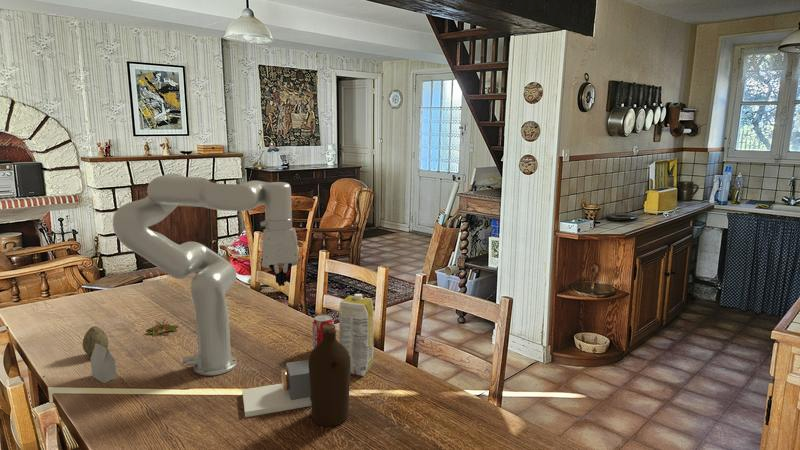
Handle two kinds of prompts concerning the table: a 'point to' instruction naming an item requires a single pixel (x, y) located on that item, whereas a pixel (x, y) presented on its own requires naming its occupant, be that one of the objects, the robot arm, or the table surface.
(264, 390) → the bearing board
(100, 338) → the decorative egg
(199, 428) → the table surface
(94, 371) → the grey angular block
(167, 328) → the green leafy plant
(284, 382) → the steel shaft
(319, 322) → the soda can
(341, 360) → the olive oil
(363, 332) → the juice carton
